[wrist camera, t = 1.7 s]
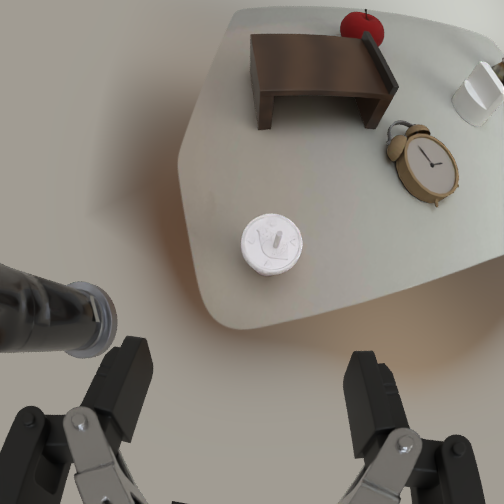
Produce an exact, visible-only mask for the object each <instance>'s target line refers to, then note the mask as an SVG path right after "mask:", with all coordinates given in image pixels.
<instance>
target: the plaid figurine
mask: <svg viewBox="0 0 504 504" xmlns="http://www.w3.org/2000/svg"><path fill="white" fill-rule="evenodd" d="M502 60H503V61H502V62H500V63H499V64H497V65H495V66H493V67H492V70H493V71H494V73H495V74H496V75H497V77H498V78H499V80H500V81H501V83H502V84H503V86H504V58H502Z"/></svg>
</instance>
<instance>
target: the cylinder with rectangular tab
mask: <svg viewBox="0 0 504 504" xmlns="http://www.w3.org/2000/svg"><path fill="white" fill-rule="evenodd" d="M452 102H453V106H454V108H455V109H456V111H457V112H458V114H459V115H460V116H461V117H462V118H463V119H464V120H465V121H466V122H468V123H469V124H471V125H473V126H477V127H479V126H481V125H483V123H484V122H485V121H486V120H487V119H488V118H489V117H490V116H491V115H492V114H493V113H494V112H495V111H496V109H497V108H498V107H499V106H500V105H501V104H502V103H503V102H504V86H503V84H502V83H501V81H500V80H499V78H498V77H497V75H496V74H495V73H494V71H493V70H492V68H491V67H490V66H489V64H488V63H486V62H483V61H480V62H479V63H478V64H477V66H476V67H475V69H474V70H473V71H472V73H471V74H470V75H469V77H468V78H467V79H466V80H465V81H464V82H463V84H462V85H461V86H460V88H459V89H458V90H457V92H456V93H455V94H454V96H453V97H452Z"/></svg>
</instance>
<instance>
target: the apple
mask: <svg viewBox="0 0 504 504" xmlns="http://www.w3.org/2000/svg"><path fill="white" fill-rule="evenodd" d="M365 12H366V13H362V12H352V13H350V14H348V15H347V16H346V17H345V18H344V19H343V20H342V22H341V26H340V33H341V36H342V37H348V38H357V39H361V38H362V35H363V33H364V31H368V32H370V34H371V36H372V37H373V39H374V41H375V42H376V44H377V46H378V47H379V46H380V45H381V43H382V42H383V39H384V29H383V26H382V24H381V22H380V21H379V20H378V19H377V18H376V17H374V16H372V15H369V14H367V9H365Z"/></svg>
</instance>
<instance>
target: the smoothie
mask: <svg viewBox="0 0 504 504" xmlns="http://www.w3.org/2000/svg"><path fill="white" fill-rule="evenodd" d="M241 251H242V254H243V257H244V259H245V260H246V262H247V263H248V265H250V266H251V267H252V268H253V269H254V270H256V272H257V273H259V274H260V275H263V276H271V275H275V274H280V273H283V272H286V271H287V270H289V269H290V268H292V267H293V266H294V264H295V263H296V262H297V261H298V259H299V257H300V254H301V251H302V237H301V233H300V231H299V229H298V228H297V226H296V225H295V224H294V223H293V222H292V221H291V220H290V219H288V218H286V217H284V216H282V215H279V214H264V215H261V216H258V217H256V218H254V219H253V220H252V221H251V222H250V223H249V224H248V225H247V226H246V228H245V229H244V231H243V234H242V239H241Z"/></svg>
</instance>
